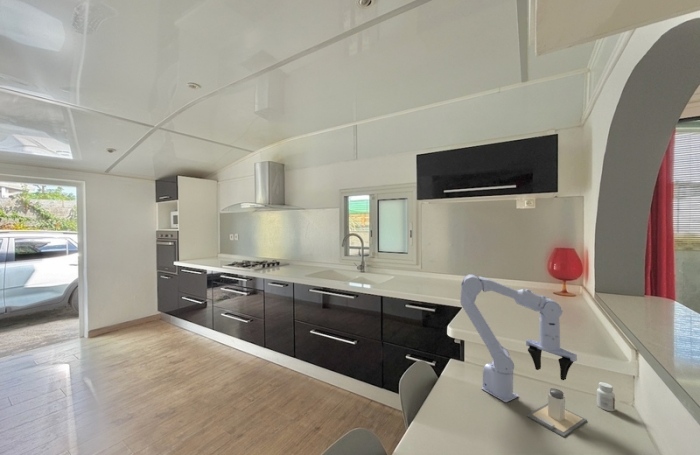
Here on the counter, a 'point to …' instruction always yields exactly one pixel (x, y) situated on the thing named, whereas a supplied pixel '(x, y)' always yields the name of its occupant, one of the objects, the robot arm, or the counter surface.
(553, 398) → the block with domed cap
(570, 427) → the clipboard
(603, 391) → the pill bottle
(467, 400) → the counter surface
